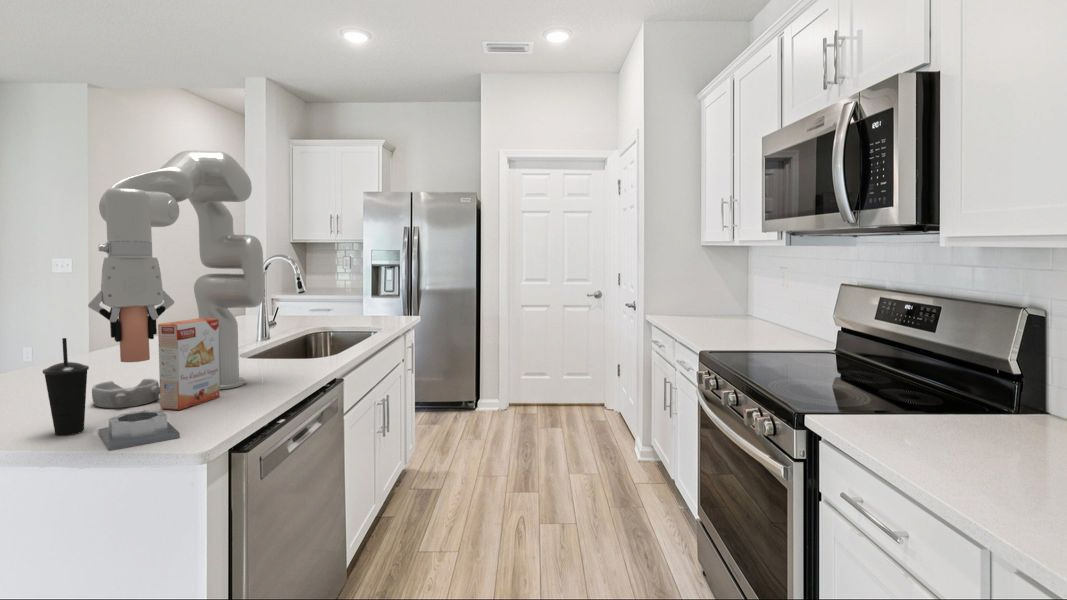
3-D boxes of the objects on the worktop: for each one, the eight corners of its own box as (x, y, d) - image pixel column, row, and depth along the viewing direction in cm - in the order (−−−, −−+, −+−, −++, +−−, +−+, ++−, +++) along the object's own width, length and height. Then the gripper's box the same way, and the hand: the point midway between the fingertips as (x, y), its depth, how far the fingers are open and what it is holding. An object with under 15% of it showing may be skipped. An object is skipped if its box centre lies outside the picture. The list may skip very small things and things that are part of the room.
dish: (87, 402, 151) (86, 383, 151) (150, 393, 161) (149, 375, 161) (101, 414, 142) (100, 393, 141) (167, 403, 152) (166, 383, 151)
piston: (118, 359, 124) (115, 298, 123) (147, 357, 127) (144, 297, 126) (123, 363, 120) (119, 300, 119) (152, 360, 124) (149, 299, 123)
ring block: (98, 433, 126) (97, 414, 126) (164, 422, 134) (163, 405, 134) (109, 450, 116) (108, 430, 116) (179, 437, 124) (179, 418, 124)
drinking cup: (62, 427, 131) (57, 335, 129) (100, 426, 131) (95, 335, 129) (36, 438, 123) (31, 341, 121) (76, 437, 124) (71, 341, 122)
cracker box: (180, 411, 144) (177, 324, 142) (159, 409, 145) (155, 323, 143) (222, 397, 158) (219, 317, 156) (202, 395, 159) (199, 317, 157)
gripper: (80, 250, 113) (85, 346, 115) (182, 251, 125) (185, 338, 126) (75, 250, 119) (80, 341, 121) (173, 250, 130) (177, 334, 132)
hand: (134, 338), depth 123 cm, fingers closed on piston, 5 cm apart
